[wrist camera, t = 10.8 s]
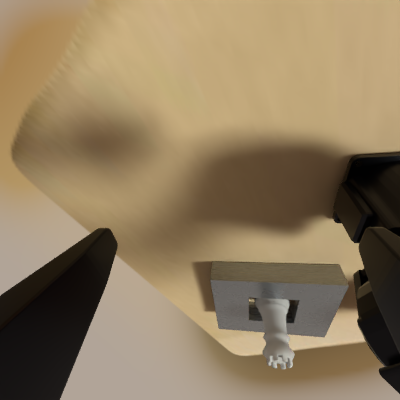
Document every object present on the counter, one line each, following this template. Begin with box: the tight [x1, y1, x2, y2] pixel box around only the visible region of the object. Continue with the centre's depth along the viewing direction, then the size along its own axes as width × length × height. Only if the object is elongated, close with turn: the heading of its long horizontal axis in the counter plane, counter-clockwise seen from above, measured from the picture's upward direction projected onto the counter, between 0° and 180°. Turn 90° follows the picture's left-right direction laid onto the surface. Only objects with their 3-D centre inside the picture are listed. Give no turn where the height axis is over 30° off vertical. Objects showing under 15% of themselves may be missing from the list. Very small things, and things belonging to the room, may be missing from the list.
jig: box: [210, 262, 349, 337], centre depth 28 cm, size 14×12×2 cm
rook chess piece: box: [254, 298, 295, 369], centre depth 26 cm, size 4×4×8 cm
